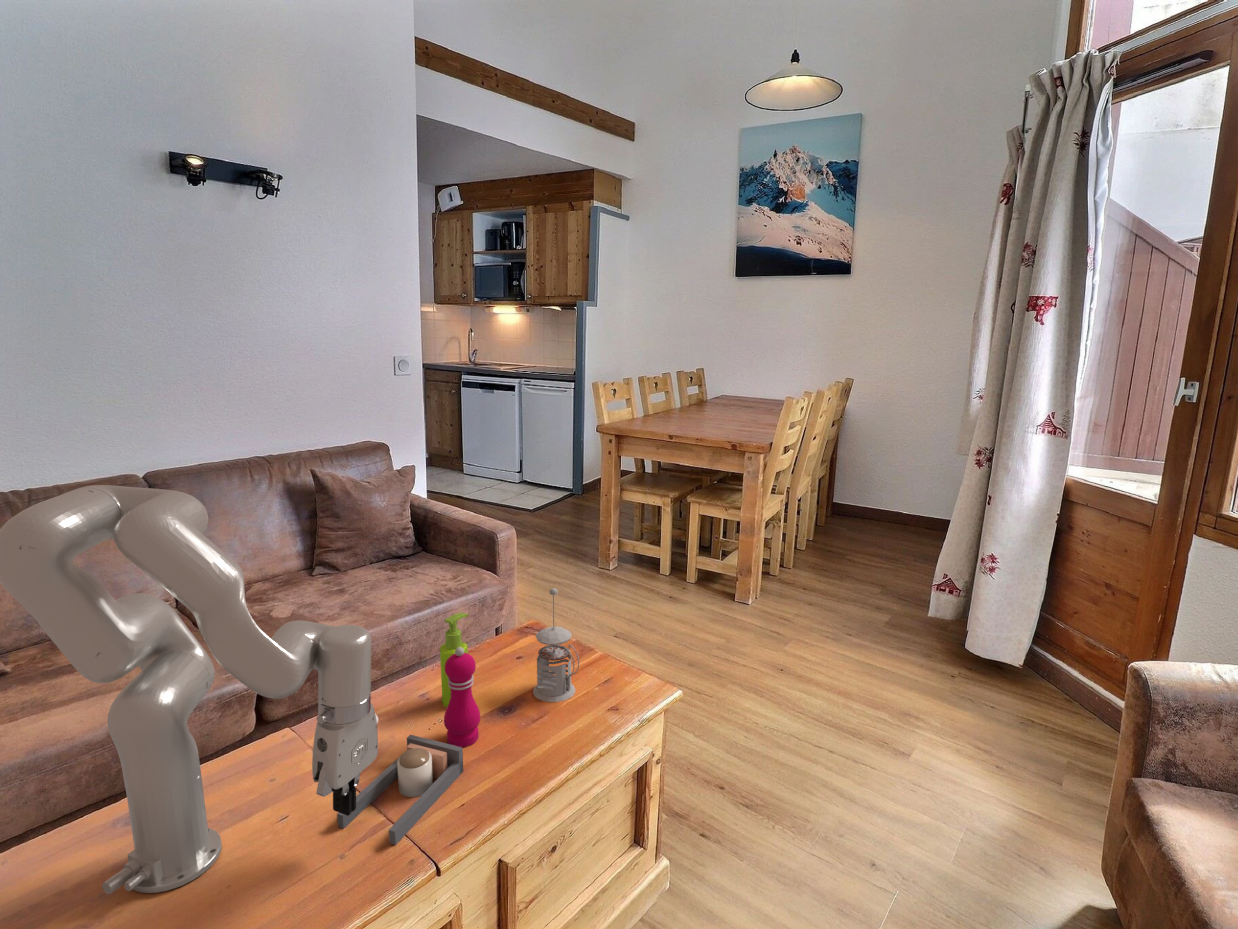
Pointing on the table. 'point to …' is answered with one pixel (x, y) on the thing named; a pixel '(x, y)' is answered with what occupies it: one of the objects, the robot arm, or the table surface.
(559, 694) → the french press
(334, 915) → the table surface
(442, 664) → the soap dispenser
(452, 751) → the frame
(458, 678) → the pepper mill
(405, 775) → the jar
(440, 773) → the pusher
